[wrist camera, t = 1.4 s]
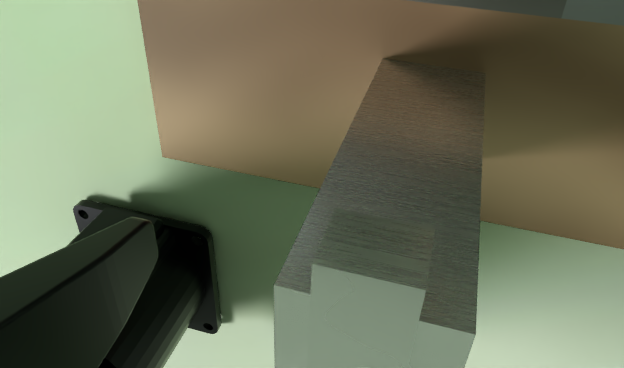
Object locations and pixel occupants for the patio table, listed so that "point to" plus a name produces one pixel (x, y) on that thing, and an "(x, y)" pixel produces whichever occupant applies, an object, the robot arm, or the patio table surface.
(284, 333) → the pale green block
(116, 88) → the patio table surface
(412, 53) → the chuck stand
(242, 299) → the patio table surface
